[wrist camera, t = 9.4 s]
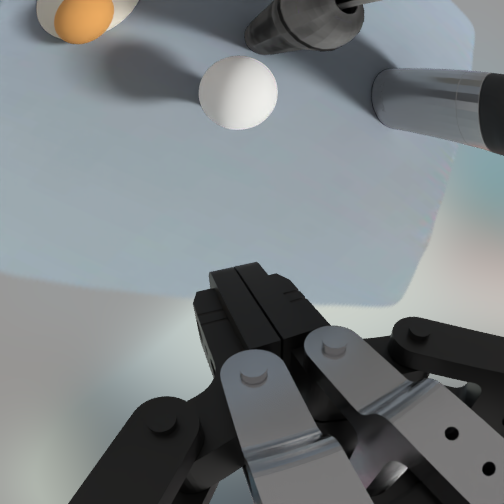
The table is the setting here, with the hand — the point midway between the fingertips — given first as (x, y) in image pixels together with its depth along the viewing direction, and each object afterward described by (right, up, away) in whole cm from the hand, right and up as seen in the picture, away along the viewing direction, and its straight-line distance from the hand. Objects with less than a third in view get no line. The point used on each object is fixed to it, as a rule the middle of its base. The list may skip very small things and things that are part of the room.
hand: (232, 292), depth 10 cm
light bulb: (-3, +18, +21) cm, 28 cm away
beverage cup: (+2, +25, +19) cm, 32 cm away
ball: (-15, +23, +9) cm, 29 cm away
